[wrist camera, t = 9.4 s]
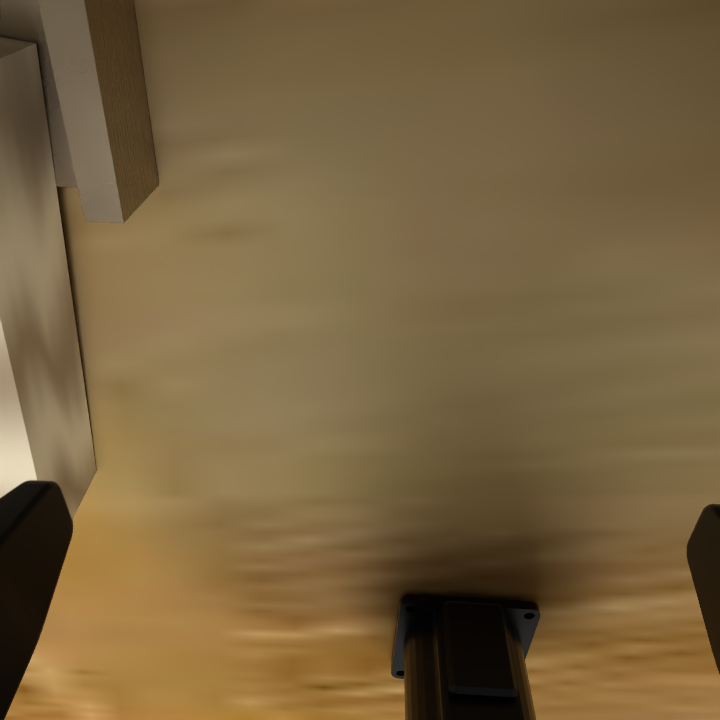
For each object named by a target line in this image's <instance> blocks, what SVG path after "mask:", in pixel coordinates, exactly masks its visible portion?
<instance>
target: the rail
mask: <svg viewBox="0 0 720 720" xmlns="http://www.w3.org/2000/svg"><path fill="white" fill-rule="evenodd" d="M95 473H96V464H95V457H94V450H93V443H92V436H91V429H90V422H89V414H88V407H87V400H86V393H85V386H84V379H83V372H82V365H81V358H80V351H79V344H78V336H77V329H76V322H75V315H74V308H73V301H72V294H71V287H70V280H69V273H68V266H67V259H66V251H65V244H64V237H63V230H62V223H61V216H60V209H59V202H58V195H57V188H56V181H55V173H54V166H53V159H52V152H51V145H50V138H49V131H48V124H47V117H46V110H45V103H44V96H43V88H42V81H41V74H40V67H39V60H38V53H37V46H36V43H32V42H26V41H20V40H15V39H9V38H4V37H0V498H1V497H2V496H4V495H5V494H7V493H8V492H10V491H11V490H12V489H14V488H15V487H17V486H18V485H20V484H21V483H23V482H25V481H29V480H41V481H54V482H56V483H57V484H58V485H60V487H61V490H62V492H63V495H64V498H65V501H66V504H67V506H68V509H69V512H70V515H71V517H72V519H73V517H74V515H75V513H76V511H77V509H78V507H79V505H80V503H81V501H82V499H83V497H84V495H85V493H86V491H87V489H88V487H89V485H90V483H91V481H92V479H93V477H94V475H95Z"/></svg>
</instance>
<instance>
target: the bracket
mask: <svg viewBox="0 0 720 720" xmlns="http://www.w3.org/2000/svg"><path fill="white" fill-rule="evenodd" d="M0 37H4V38H9V39H15V40H20V41H26V42H32V43H36V46H37V53H38V60H39V67H40V74H41V81H42V88H43V96H44V103H45V110H46V117H47V124H48V131H49V138H50V145H51V152H52V159H53V166H54V173H55V181H56V186H59V187H77V188H78V190H79V195H80V200H81V204H82V209H83V214H84V218H85V221H95V222H112V223H124V222H125V221H126V220H127V219H128V218H129V217H130V216H131V215H132V214H133V213H134V211H135V210H136V209H137V208H138V207H139V206H140V205H141V204H142V203H143V202H144V201H145V200H146V198H147V197H148V196H149V195H150V194H151V193H152V192H153V191H154V190H155V189H156V188H157V187H158V185H159V182H158V175H157V167H156V160H155V153H154V146H153V139H152V131H151V124H150V117H149V110H148V103H147V95H146V88H145V81H144V74H143V67H142V60H141V52H140V45H139V38H138V31H137V24H136V16H135V9H134V2H133V0H0Z"/></svg>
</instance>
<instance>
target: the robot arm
mask: <svg viewBox="0 0 720 720" xmlns="http://www.w3.org/2000/svg"><path fill="white" fill-rule="evenodd" d="M72 533H73V521H72V517H71V515H70V512H69V509H68V506H67V504H66V501H65V498H64V495H63V492H62V490H61V487H60V485H58V484H57V483H56V482H54V481H41V480H29V481H25V482H23V483H21V484H20V485H18V486H17V487H15V488H14V489H12V490H11V491H10V492H8V493H7V494H5V495H4V496H2V497H1V498H0V720H4V719H5V717H6V714H7V712H8V710H9V707H10V705H11V703H12V701H13V698H14V696H15V694H16V691H17V689H18V687H19V685H20V682H21V680H22V678H23V675H24V673H25V671H26V669H27V666H28V664H29V662H30V659H31V657H32V655H33V652H34V650H35V647H36V645H37V643H38V640H39V637H40V634H41V632H42V629H43V626H44V623H45V620H46V617H47V613H48V610H49V607H50V604H51V601H52V598H53V595H54V591H55V588H56V585H57V582H58V579H59V576H60V572H61V569H62V566H63V563H64V560H65V557H66V554H67V550H68V547H69V544H70V541H71V537H72ZM687 559H688V564H689V567H690V571H691V575H692V578H693V582H694V586H695V589H696V593H697V597H698V600H699V604H700V608H701V611H702V615H703V619H704V622H705V626H706V630H707V633H708V637H709V641H710V644H711V648H712V652H713V655H714V658H715V661H716V665H717V668H718V671H719V673H720V504H710V505H708V506H706V507H705V508H704V509H703V511H702V513H701V515H700V517H699V519H698V521H697V524H696V526H695V528H694V530H693V532H692V534H691V536H690V539H689V541H688V544H687ZM539 618H540V611H539V607H538V605H537V604H536V603H533V602H524V601H507V600H490V599H473V598H455V597H438V596H421V595H406V596H404V597H402V598H401V600H400V604H399V611H398V619H397V626H396V634H395V641H394V648H393V656H392V663H391V674H392V676H393V677H395V678H399V679H404V683H405V720H536V716H535V711H534V706H533V701H532V695H531V690H530V685H529V680H528V675H527V669H526V664H525V658H526V655H527V653H528V650H529V647H530V644H531V641H532V638H533V636H534V633H535V630H536V627H537V624H538V621H539Z"/></svg>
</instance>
